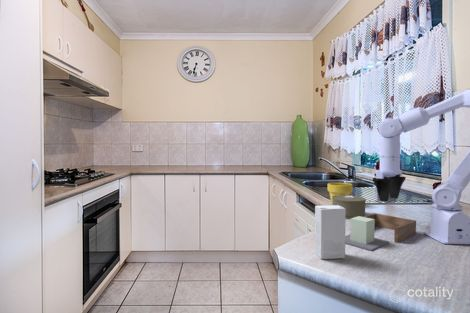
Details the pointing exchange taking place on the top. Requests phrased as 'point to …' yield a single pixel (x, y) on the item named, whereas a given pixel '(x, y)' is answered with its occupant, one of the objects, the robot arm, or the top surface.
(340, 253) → the skincare box
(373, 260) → the top surface
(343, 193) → the plant pot
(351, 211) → the can
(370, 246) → the charcoal mat
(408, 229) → the walnut u-shaped frame
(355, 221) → the sage block
